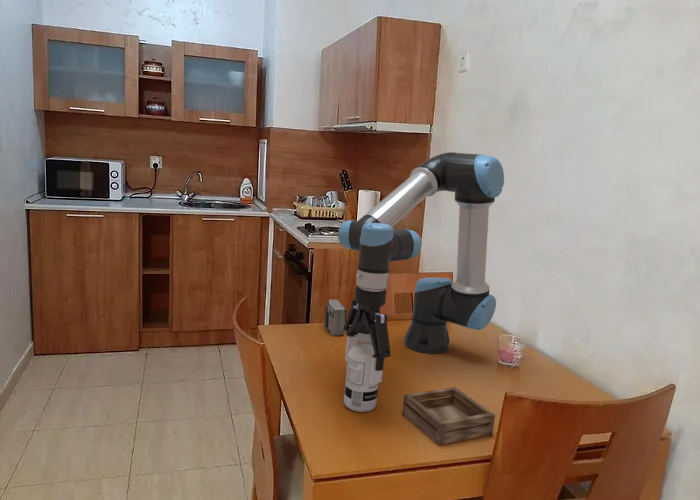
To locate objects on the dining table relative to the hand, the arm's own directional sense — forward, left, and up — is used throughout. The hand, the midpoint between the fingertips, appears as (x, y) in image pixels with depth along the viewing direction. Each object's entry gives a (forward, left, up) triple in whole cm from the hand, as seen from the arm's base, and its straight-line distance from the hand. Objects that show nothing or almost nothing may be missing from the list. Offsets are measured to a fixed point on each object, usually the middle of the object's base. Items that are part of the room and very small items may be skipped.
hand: (362, 371), depth 138 cm
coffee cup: (-11, -20, -10) cm, 25 cm away
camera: (-17, -53, -10) cm, 57 cm away
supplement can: (0, 0, -10) cm, 10 cm away
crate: (-16, +14, -9) cm, 24 cm away
